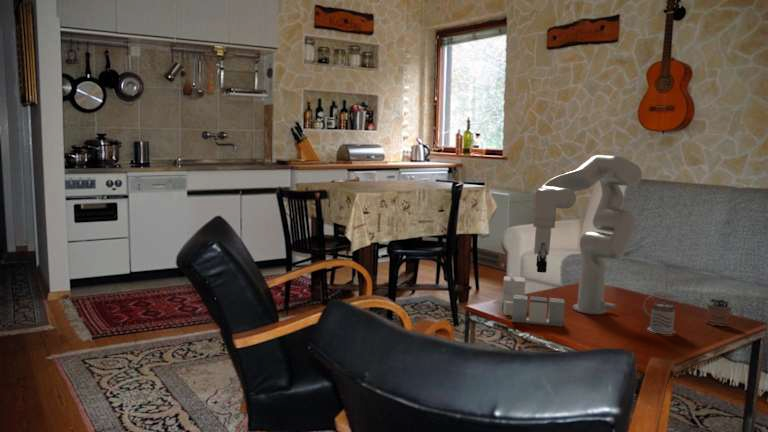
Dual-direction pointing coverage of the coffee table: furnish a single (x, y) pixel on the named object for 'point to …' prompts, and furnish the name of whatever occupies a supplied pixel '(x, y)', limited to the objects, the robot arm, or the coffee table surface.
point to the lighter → (718, 312)
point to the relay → (508, 307)
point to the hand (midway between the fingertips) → (541, 269)
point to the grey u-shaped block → (553, 315)
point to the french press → (660, 325)
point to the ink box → (512, 287)
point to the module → (537, 309)
